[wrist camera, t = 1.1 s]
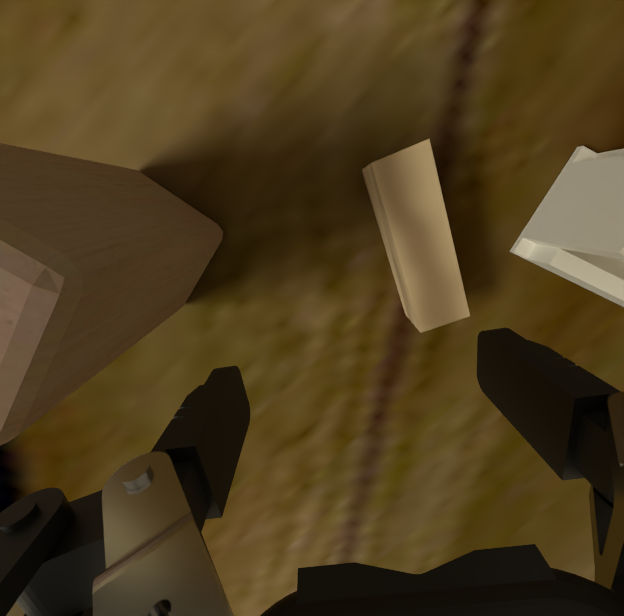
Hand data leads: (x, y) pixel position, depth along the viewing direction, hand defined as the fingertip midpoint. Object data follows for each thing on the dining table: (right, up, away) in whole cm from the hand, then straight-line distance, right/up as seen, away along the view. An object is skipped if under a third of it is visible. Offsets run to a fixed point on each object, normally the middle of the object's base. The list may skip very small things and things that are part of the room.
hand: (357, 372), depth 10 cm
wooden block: (-16, +9, +19) cm, 27 cm away
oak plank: (+8, +9, +19) cm, 23 cm away
